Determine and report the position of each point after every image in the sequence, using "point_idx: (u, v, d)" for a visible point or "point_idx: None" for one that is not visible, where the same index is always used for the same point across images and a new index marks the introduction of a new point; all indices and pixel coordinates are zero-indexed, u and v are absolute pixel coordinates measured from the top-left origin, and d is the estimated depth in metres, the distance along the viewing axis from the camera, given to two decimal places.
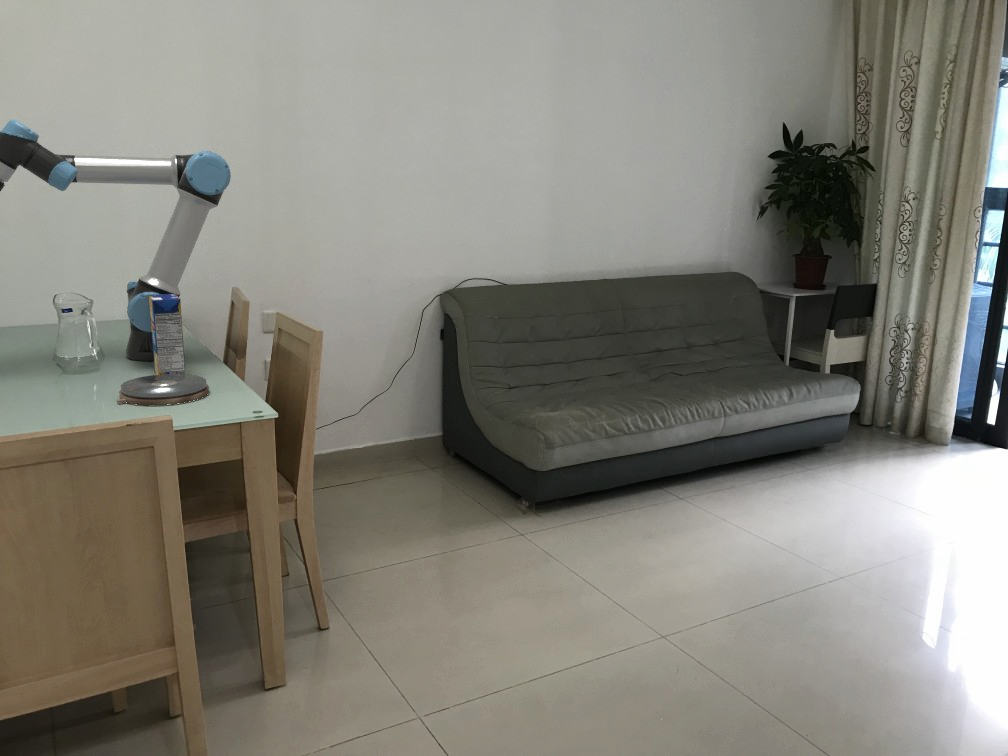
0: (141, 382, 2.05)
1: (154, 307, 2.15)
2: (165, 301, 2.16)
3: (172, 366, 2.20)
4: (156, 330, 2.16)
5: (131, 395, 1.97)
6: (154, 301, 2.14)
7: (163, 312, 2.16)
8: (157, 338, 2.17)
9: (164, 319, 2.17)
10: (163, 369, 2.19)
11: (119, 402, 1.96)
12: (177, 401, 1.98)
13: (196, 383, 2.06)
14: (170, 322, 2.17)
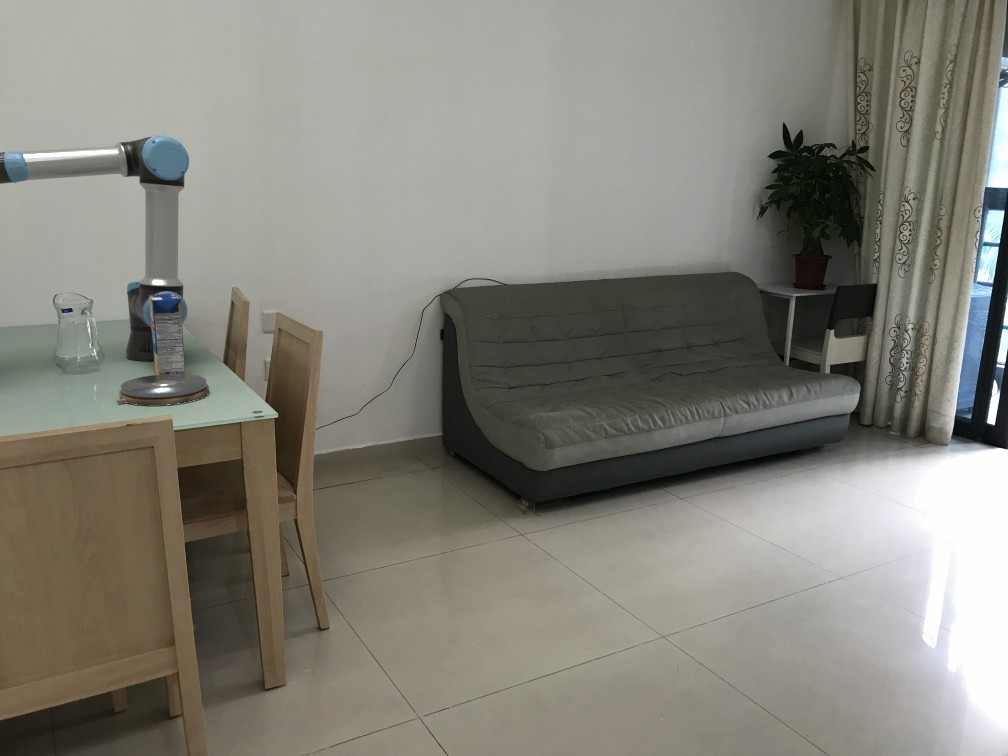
0: (141, 382, 2.05)
1: (154, 307, 2.15)
2: (165, 301, 2.16)
3: (172, 366, 2.20)
4: (156, 330, 2.16)
5: (131, 395, 1.97)
6: (154, 301, 2.14)
7: (163, 312, 2.16)
8: (157, 338, 2.17)
9: (164, 319, 2.17)
10: (163, 369, 2.19)
11: (119, 402, 1.96)
12: (177, 401, 1.98)
13: (196, 383, 2.06)
14: (170, 322, 2.17)
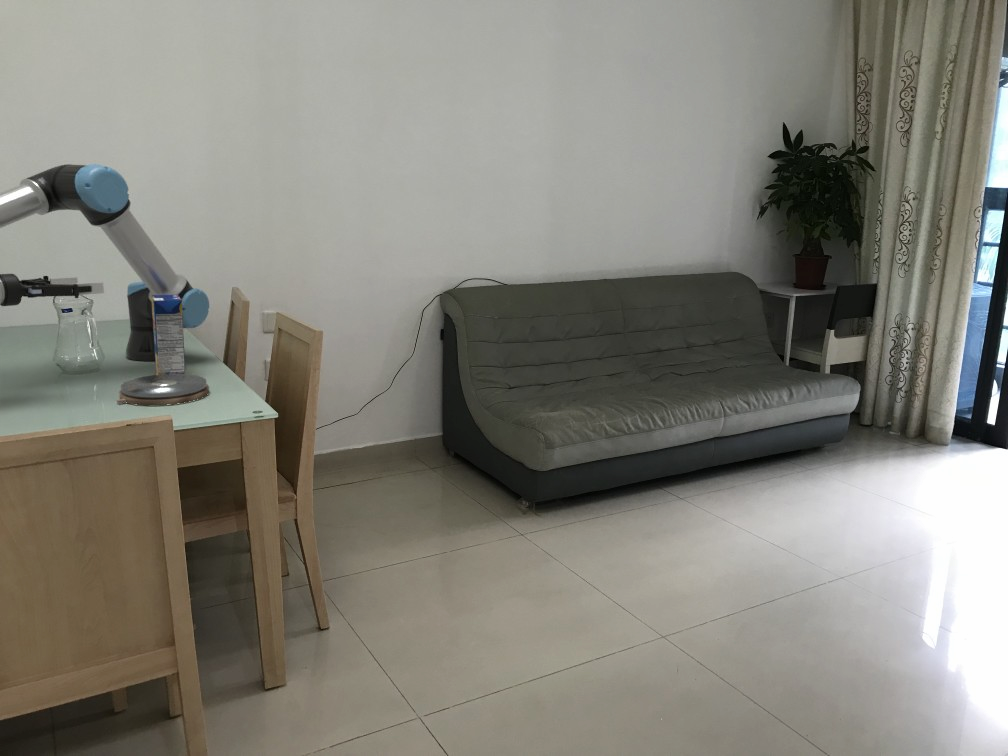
0: (141, 382, 2.05)
1: (155, 307, 2.15)
2: (166, 302, 2.16)
3: (172, 366, 2.20)
4: (157, 330, 2.17)
5: (131, 395, 1.97)
6: (155, 301, 2.15)
7: (164, 313, 2.16)
8: (158, 338, 2.17)
9: (165, 320, 2.17)
10: (163, 370, 2.19)
11: (119, 402, 1.96)
12: (177, 401, 1.98)
13: (196, 383, 2.06)
14: (171, 322, 2.18)
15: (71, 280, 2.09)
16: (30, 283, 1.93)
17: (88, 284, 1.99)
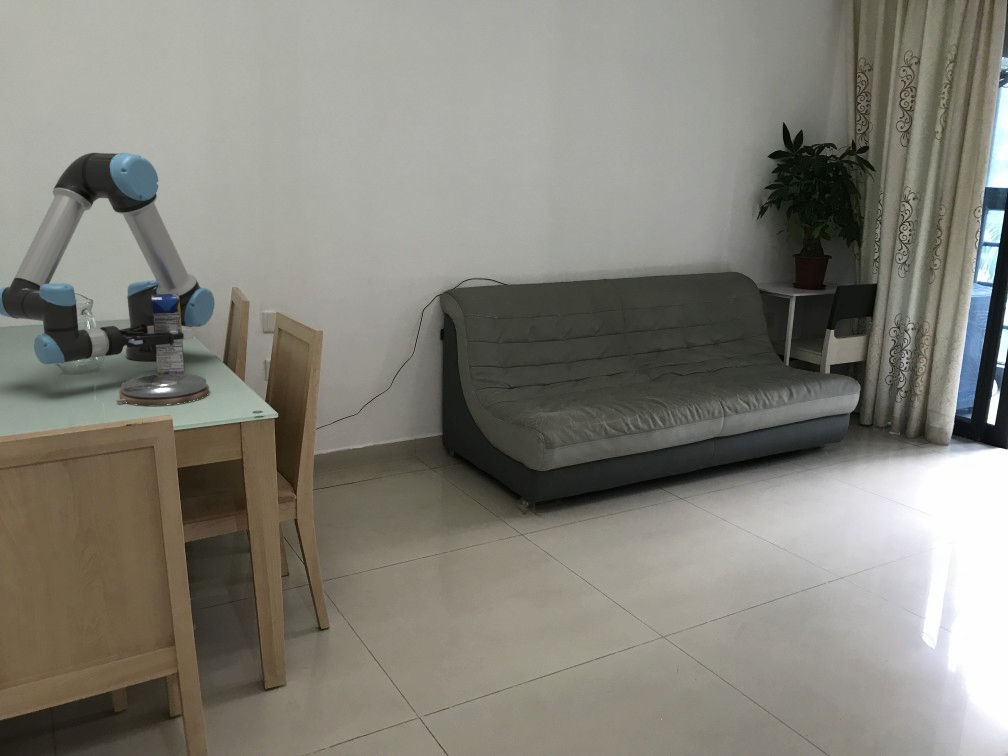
0: (141, 382, 2.05)
1: (153, 307, 2.15)
2: (164, 301, 2.16)
3: (171, 366, 2.20)
4: (155, 330, 2.16)
5: (131, 395, 1.97)
6: (153, 301, 2.15)
7: (162, 312, 2.16)
8: None
9: (163, 319, 2.17)
10: (162, 369, 2.19)
11: (119, 402, 1.96)
12: (177, 401, 1.98)
13: (196, 383, 2.06)
14: (169, 322, 2.17)
15: None
16: (129, 334, 2.12)
17: None
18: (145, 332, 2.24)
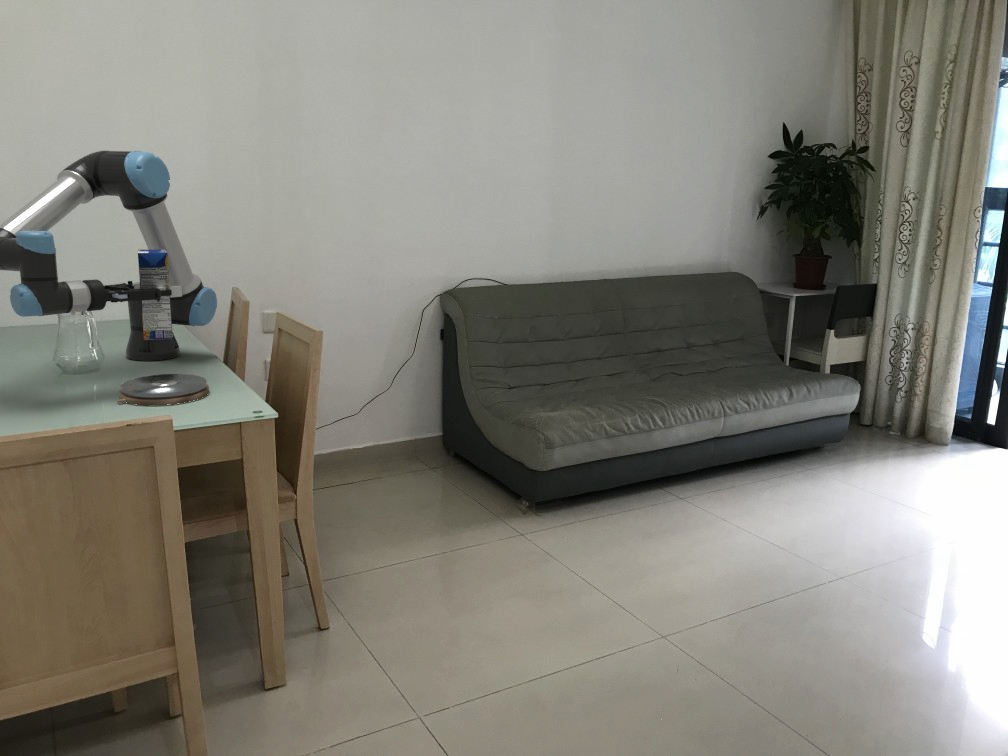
0: (141, 382, 2.05)
1: (139, 260, 2.02)
2: (151, 254, 2.03)
3: (158, 324, 2.07)
4: (141, 285, 2.04)
5: (131, 395, 1.97)
6: (139, 254, 2.02)
7: (149, 266, 2.03)
8: None
9: (150, 274, 2.04)
10: (148, 328, 2.07)
11: (119, 402, 1.96)
12: (177, 401, 1.98)
13: (196, 383, 2.06)
14: (156, 277, 2.05)
15: None
16: (114, 288, 2.00)
17: None
18: (132, 289, 2.11)
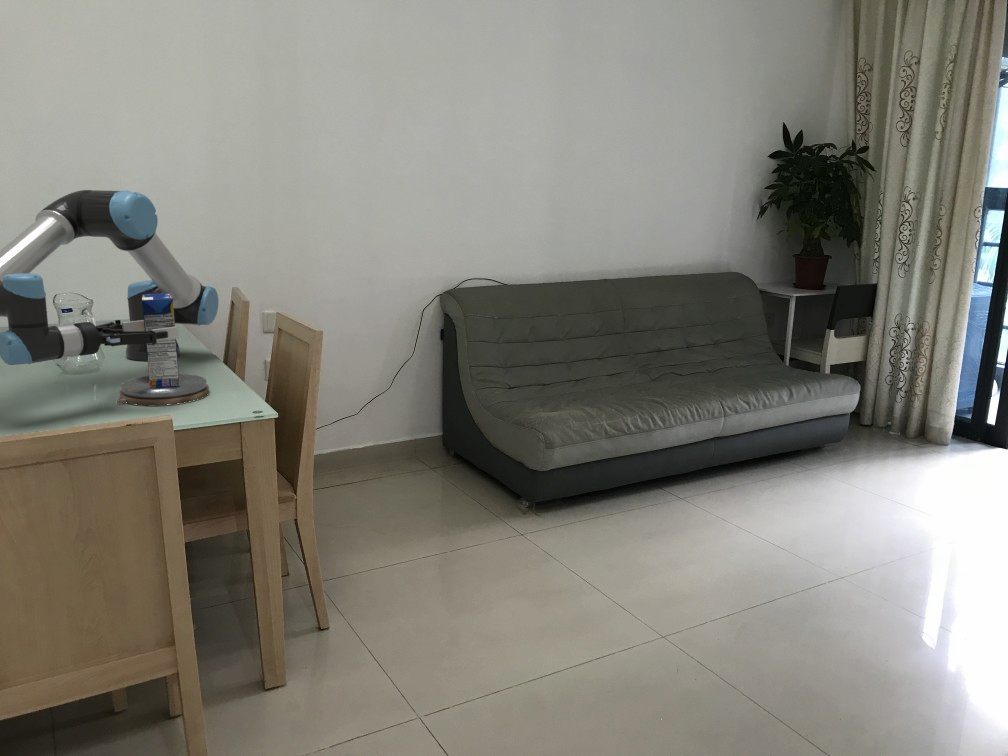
0: (141, 382, 2.05)
1: (144, 308, 1.94)
2: (156, 301, 1.95)
3: (165, 373, 2.00)
4: None
5: (131, 395, 1.97)
6: (143, 301, 1.94)
7: (154, 313, 1.95)
8: None
9: (155, 321, 1.96)
10: (154, 377, 1.99)
11: (119, 402, 1.96)
12: (177, 401, 1.98)
13: (196, 383, 2.06)
14: (161, 324, 1.97)
15: (142, 323, 2.04)
16: (107, 331, 1.89)
17: (164, 330, 1.95)
18: (120, 329, 2.01)
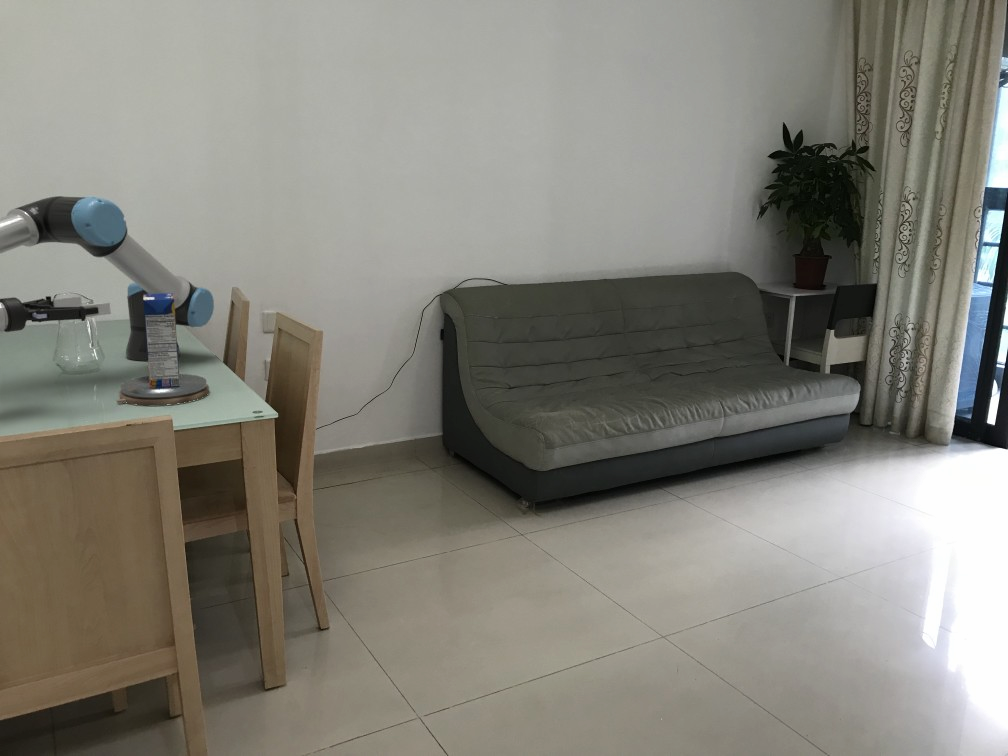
0: (141, 382, 2.05)
1: (145, 308, 1.94)
2: (157, 301, 1.95)
3: (165, 373, 2.00)
4: (147, 333, 1.96)
5: (131, 395, 1.97)
6: (145, 301, 1.94)
7: (155, 313, 1.96)
8: (148, 342, 1.96)
9: (156, 321, 1.96)
10: (154, 377, 1.99)
11: (119, 402, 1.96)
12: (177, 401, 1.98)
13: (196, 383, 2.06)
14: (162, 324, 1.97)
15: (75, 299, 2.00)
16: (34, 307, 1.84)
17: (94, 305, 1.90)
18: (51, 305, 1.96)
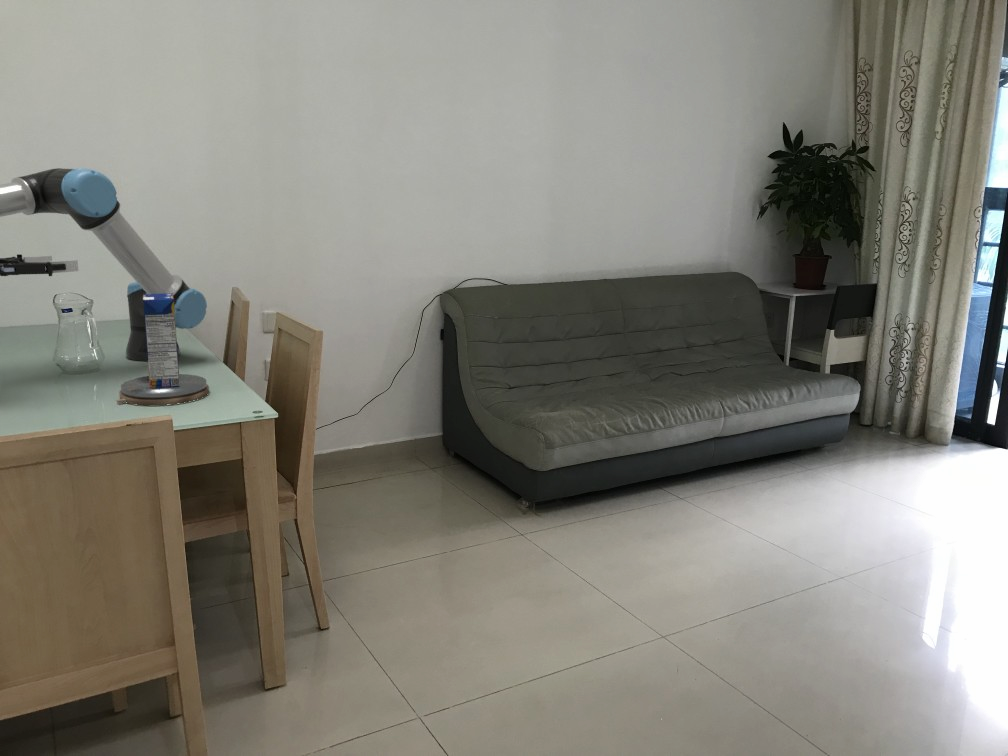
0: (141, 382, 2.05)
1: (144, 308, 1.94)
2: (157, 301, 1.95)
3: (165, 373, 2.00)
4: (147, 333, 1.96)
5: (131, 395, 1.97)
6: (144, 301, 1.94)
7: (154, 313, 1.96)
8: (148, 342, 1.96)
9: (156, 321, 1.96)
10: (154, 377, 1.99)
11: (119, 402, 1.96)
12: (177, 401, 1.98)
13: (196, 383, 2.06)
14: (162, 324, 1.97)
15: (45, 258, 2.06)
16: (2, 261, 1.91)
17: (62, 262, 1.97)
18: None
